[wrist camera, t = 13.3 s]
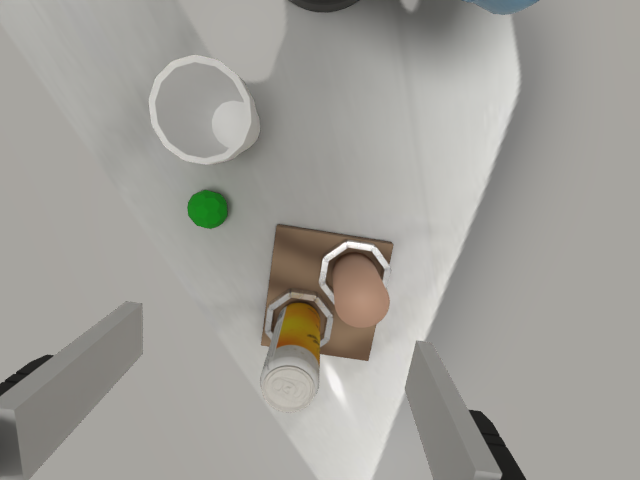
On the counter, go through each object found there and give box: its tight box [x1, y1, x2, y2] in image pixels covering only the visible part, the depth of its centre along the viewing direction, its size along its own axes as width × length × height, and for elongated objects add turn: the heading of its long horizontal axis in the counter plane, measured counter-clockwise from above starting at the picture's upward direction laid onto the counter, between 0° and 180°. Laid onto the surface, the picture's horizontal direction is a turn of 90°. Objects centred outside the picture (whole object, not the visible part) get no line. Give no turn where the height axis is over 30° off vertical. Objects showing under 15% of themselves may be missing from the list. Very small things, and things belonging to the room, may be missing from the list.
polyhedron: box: [187, 190, 228, 229], centre depth 43 cm, size 5×5×5 cm
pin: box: [332, 252, 390, 328], centre depth 41 cm, size 6×6×10 cm
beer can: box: [260, 302, 321, 413], centre depth 40 cm, size 6×6×15 cm
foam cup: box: [148, 55, 260, 165], centre depth 37 cm, size 10×9×13 cm
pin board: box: [261, 224, 393, 361], centre depth 48 cm, size 18×16×2 cm
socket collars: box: [265, 239, 391, 347], centre depth 46 cm, size 17×16×2 cm
